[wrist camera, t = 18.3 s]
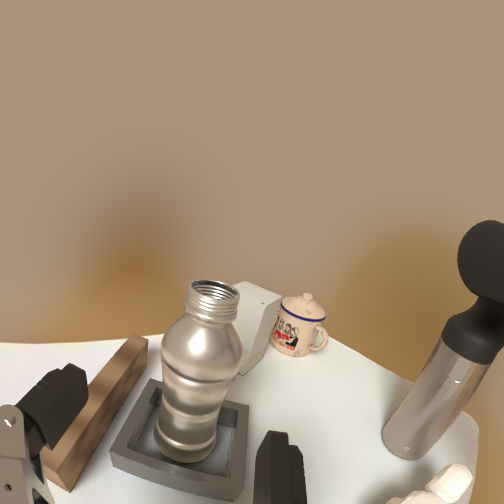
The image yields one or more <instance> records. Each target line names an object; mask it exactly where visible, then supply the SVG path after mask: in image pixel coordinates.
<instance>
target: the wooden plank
mask: <svg viewBox="0 0 504 504" xmlns="http://www.w3.org/2000/svg"><path fill="white" fill-rule="evenodd" d="M147 350H148V339H146V338H143V337H140V336H137V335H134V334H132V335H131V336H130V337H129V338H128V339H127V340H126V342H125V343H124V344H123V345H122V346H121V347H120V349H119V350H118V351H117V352H116V353H115V354H114V356H113V357H112V358H111V359H110V360H109V361H108V363H107V364H106V365H105V366H104V367H103V368H102V370H101V371H100V372H99V373H98V374H97V376H96V377H95V378H94V379H93V380H92V382H91V383H90V384H89V385H88V391H89V397H88V401H87V403H86V405H85V406H84V408H83V409H82V410H81V412H80V413H79V414H78V416H77V417H76V418H75V420H74V421H73V423H72V424H71V425H70V427H69V428H68V429H67V431H66V432H65V434H64V435H63V436H62V438H61V439H60V441H59V442H58V443H57V445H56V446H55V448H54V449H53V450H52V451H51V450H50V449H48V448H47V447H45V446H44V447H43V448H42V450H41V451H42V457H43V463H44V469H45V475H46V477H47V478H48V480H50V481H51V482H53V483H54V484H56V485H58V486H59V487H61V488H62V489H64V490H66V491H68V492H69V493H70V492H71V490H72V488H73V486H74V485H75V483H76V481H77V479H78V478H79V476H80V474H81V472H82V471H83V469H84V467H85V465H86V464H87V462H88V460H89V459H90V457H91V455H92V453H93V452H94V450H95V448H96V447H97V445H98V443H99V442H100V440H101V438H102V437H103V435H104V433H105V432H106V430H107V428H108V427H109V425H110V423H111V422H112V420H113V419H114V417H115V415H116V414H117V412H118V410H119V409H120V407H121V406H122V404H123V402H124V401H125V399H126V397H127V396H128V394H129V393H130V391H131V389H132V388H133V386H134V385H135V383H136V382H137V380H138V378H139V377H140V375H141V374H142V372H143V371H144V369H145V367H146V363H147Z"/></svg>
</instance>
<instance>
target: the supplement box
mask: <svg viewBox="0 0 504 504" xmlns="http://www.w3.org/2000/svg"><path fill="white" fill-rule="evenodd" d="M232 287H234V288H235V289H237V290H238V291H239V293H240V299H239V303H238V307H237V311H238V313H237V317H236V319H235V321H233V322H232V324H233V326H234V328H235V330H236V332H237V333H238V336H239V338H240V340H241V343H242V346H243V362H242V364H241V367H240V369H239V371H238V373H240V374H241V375H245V374H246V373H247V372H248V371H249V370H250V369H251V368H252V367H254V366H255V365H256V364H257V363H258V362H259V361H260V360H261V359H262V358H263V355H264V352H265V349H266V346H267V343H268V340H269V337H270V334H271V331H272V328H273V325H274V322H275V319H276V315H277V312H278V309H279V306H280V303H281V299H282V296H280V295H278V294H275V293H273V292H270V291H268V290H266V289H263V288H261V287H258V286H256V285H254V284H251V283H249V282H247V281H244V282H241V283H239V284H236V285H233V286H232Z"/></svg>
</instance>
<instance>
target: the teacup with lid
mask: <svg viewBox="0 0 504 504" xmlns="http://www.w3.org/2000/svg"><path fill="white" fill-rule="evenodd" d="M312 299H313V296H312V295H311V294H309V293H304V294H303V296H298V297H286V298H285V299H283V300H282V301H281V308H280V311H279V314H278V317H277V320H276V323H275V325H274V328H273V331H272V334H271V337H270V342H271V344H272V346H273V347H274V348H275V349H276V350H278V351H279V352H281V353H283V354H285V355H288V356H293V357H302V356H306V355H307V354H309V352H310V350H313V351H318V350H321V349H322V348H324V347H325V346H326V344H327V342H328V333H327V332H326V330H325V329H324V328H323V327H321V323H322V321H323V320H324V319H325V311H324V309H323V308H322V307H321V306H319V305H318V304H317V303H316V302H315V301H313V300H312ZM318 331H319V332H320V333H321V334H322V336H323V341H322V343H321V345H320V346H319V347H316V346H314V345H313V343H314V341H315V338H316V336H317V334H318Z"/></svg>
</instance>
